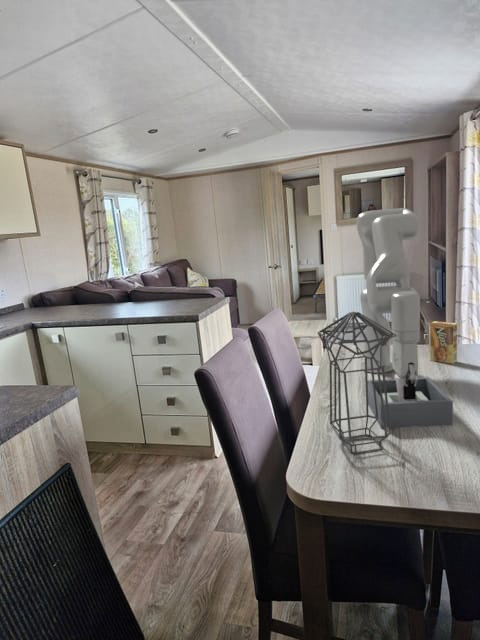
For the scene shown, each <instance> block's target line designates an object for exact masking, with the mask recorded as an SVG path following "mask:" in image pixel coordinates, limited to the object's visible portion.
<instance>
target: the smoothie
mask: <svg viewBox="0 0 480 640" xmlns="http://www.w3.org/2000/svg"><path fill="white" fill-rule="evenodd" d="M406 375H410V374H409V373H407V374H406ZM393 377H394V378H393V379H395V380H396V385H397V392H398V399H399V402H409V401H414V399H409V400H405V399H404V398H403V386H405V384H404V376H403V377H400V376H399V375H398V374H397V373H396V372H395V374H394V376H393ZM418 378H419V376H418V375H417V376H416V381H417V380H418ZM409 379H410V378H407V381H408V380H409ZM416 381H415V383H416Z"/></svg>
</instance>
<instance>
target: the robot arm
mask: <svg viewBox="0 0 480 640" xmlns="http://www.w3.org/2000/svg"><path fill="white" fill-rule="evenodd" d="M420 226H421V225H420V220H419V218H418V215H416V213H414V212H413V211H412V210H410V209H408V208H406V207H405V208H404V207H401V208H400V207H399V208H397V207H395V208H387V209H386V208H385V209H377V210H376V209H375V210H367V211H363V212H361V213H360V214H358V216H357V218H356V229H357V230H356V231H357V233H358V235H359V239H360V241H361V244H362V250H363V251H362V253H363V254H362V255H363V276H364V280H365V288H364V289H363V290H362V291H361V292H360V296H359V300H360V307H361V311H362V312H361V314H362V315H364V316H366V317H367V318H369V319H371V320H372V321H374V322H376V323H377V324H379V325H381V326H382V327H384V328H386V329H387V330H389V331H391V332H392V333H394V334H395V335H397V336H396V337H394V338H393V337H391V338H390V339H389V340H388V341H387V342H386V346H385V344H384V346H382V355H381V363H382V364H384V365H385V367H384V372H385V374H387V373H390V372H393V371H395V374H396V373H397V374H398V375H399V376H400V377H403V376H404V384H405V386H403V398H404V399H405V400H409V399H415V398H416V383H415V381H416V376H418V373H419V356H418V355H419V353H418V342H420V339H421V338H420V337H421V336H420V335H421V323H420V319H421V316H420V315H421V311H420V310H421V309H420V307H421V303H420V302H421V301H420V300H421V298H420V295H419V293H418V291H416V289H415V288H414V287H411V285H410V283H411V272H410V271H411V270H410V269H411V268H410V264H409V261H408V259H407V258H406V252H405V247H404V243H403V241H412V240H413V241H414V240H416V239H417V238H418V237H419V235H420V231H421V227H420ZM391 283H394V284H395V285H385V286H384V285H383V286H381V285H380V286H377V284H391ZM384 314H390V315H391V318H390V319H391V323H390V322H389V320H388V318H387V317H385V315H384ZM364 318H365V317H364ZM367 318H366V319H367ZM367 320H368V319H367ZM369 321H370V320H369ZM372 321H371V322H372ZM362 322H363V321H362ZM365 323H366V322H365ZM365 323H364V322H363V325H366V324H367V323H366V324H365ZM372 323H373V322H372ZM374 324H375V323H374ZM377 324H375V325H377ZM363 325H362V326H363ZM377 326H378V325H377ZM378 327H380V326H378ZM380 328H381V327H380ZM381 329H383V328H381ZM383 330H384V331H386V330H385V329H383ZM363 332H364V334H365V336H366V338H367V340H368V341H370V340H374V339H377V338H376V336H375V333H374V330H373V328H372V327H371V326H367V327H366V328H365V329H364V330H363ZM376 332H377V331H376ZM386 332H387V333H390V332H388V331H386ZM377 335H378V338H381V336H382V335H380V334H379V332H377ZM395 335H393V336H395ZM383 337H385V336H383ZM363 340H365V339H364V338H363ZM380 341H381V340H380ZM382 341H383V340H382ZM391 341H392V351H391ZM377 344H378V341H375V342H371V343H369V345H370V349H371V348H372V347H374V346H375V345H377ZM380 346H381V345H379V347H378V349H377V351H376V353H375V355H374V357H375V359H376V360H378V361H379V362H380ZM363 348H364V350H363V351H368V350H369V349H368V344H367V343H366V342H363ZM375 349H376V348H375ZM375 349H373V350H372V351H371V352H372V354H373V353H374V351H375ZM391 353H392V355H391ZM364 355H365V356H368V357H372V356H371V354H370V353H365V354H364ZM363 359H364V362H362V363H361V364H360V370H363V369H365V357H364V358H363ZM391 359H392V360H391ZM372 361H373V368H378V366H377V365H376V363H375V361H374V359H372ZM378 364H379V366H380V363H378ZM381 366H383V365H381ZM367 369H371V361H370V359H368V358H367ZM373 371H374V374H375V373H376V374H378V373H377V370H373ZM379 371H380V374H382V368H381V369H379ZM367 373H371V374H372V372H371V370H368V371H367ZM407 373H409V374H410V375H406V374H407ZM407 378H410V379H409V380H408V381H407Z"/></svg>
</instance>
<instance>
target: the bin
mask: <svg viewBox="0 0 480 640" xmlns="http://www.w3.org/2000/svg"><path fill="white" fill-rule="evenodd" d="M374 381H375V390H376V400H377V410H378V418H379V419H380V420H381V421H382V422H383V414H382V406H381V397H380V389H379V381H378V379H374ZM385 381H386V390H387V399H388V408H389V417H390V425H391V429H396V428H418V427H421V428H422V427H423V428H424V427H439V426H441V427H442V426H453V412H454V411H453V410H454V407H453V406H454V405H453V403H454V401H453V400H452V398H450V397H449V395H447V394H446V393H445V392H444V391H443V390H442V389H441V388H440V387H439V386H438V385H437V384H436V383H435V381H433V380H432V379H431V378H430V377H429V376H428V377H426V376H425V377H418V380H417V381H416V398H415V399H414V401H409V402H399V399H398V392H397V385H396V380H395V379H394V378H393V379H392V378H390V379H385ZM381 387H382V395H383V403H384V411H385V420H386V426H387V427H388V419H387V410H386V401H385V392H384V383H383V379H381ZM368 408H369V409H370V410H371V413H372V414H373V416H375V417H376V410H375V400H374V391H373V382H372V379H371V380H369V379H368ZM376 422H377V424H378V425H379V427H380V429H384V426H383V425H382V424H381V423H380V422H379V421H378V420H377V421H376ZM383 423H384V422H383ZM388 428H389V427H388Z"/></svg>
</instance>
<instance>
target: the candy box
mask: <svg viewBox="0 0 480 640" xmlns="http://www.w3.org/2000/svg"><path fill="white" fill-rule="evenodd" d="M429 346H430V349H429V361H432V362H437V361H438V363H445V364H450V363H451V364H450V365H454V364H455V363H456V362H457V361H458V323H457V322H447V321H436V320H435V321H432V322H430V323H429Z"/></svg>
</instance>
